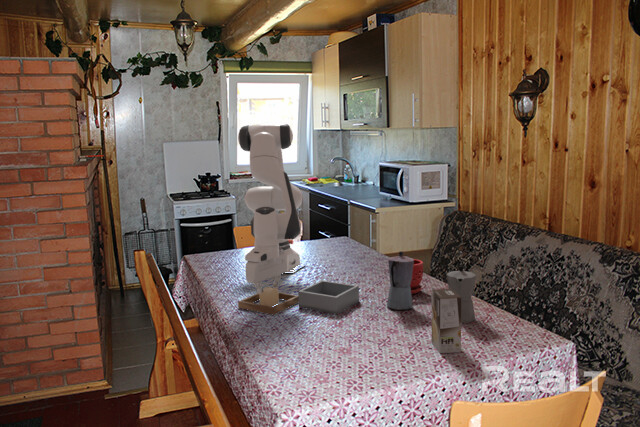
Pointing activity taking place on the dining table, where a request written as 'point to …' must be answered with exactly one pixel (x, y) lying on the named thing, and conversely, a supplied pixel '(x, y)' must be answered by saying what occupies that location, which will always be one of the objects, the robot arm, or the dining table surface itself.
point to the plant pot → (416, 276)
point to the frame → (249, 305)
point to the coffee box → (446, 320)
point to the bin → (328, 296)
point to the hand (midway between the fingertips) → (268, 289)
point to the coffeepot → (463, 291)
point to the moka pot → (400, 282)
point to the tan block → (269, 296)
